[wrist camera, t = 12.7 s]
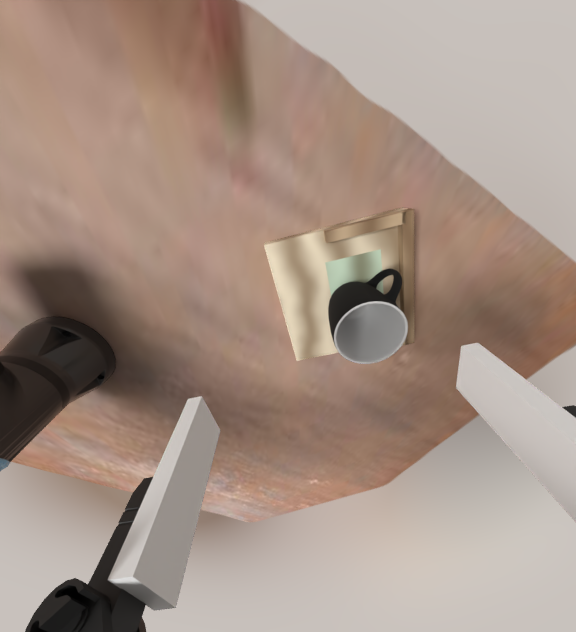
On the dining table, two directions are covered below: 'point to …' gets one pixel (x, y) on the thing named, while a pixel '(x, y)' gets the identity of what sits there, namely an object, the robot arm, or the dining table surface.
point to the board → (340, 272)
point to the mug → (367, 319)
